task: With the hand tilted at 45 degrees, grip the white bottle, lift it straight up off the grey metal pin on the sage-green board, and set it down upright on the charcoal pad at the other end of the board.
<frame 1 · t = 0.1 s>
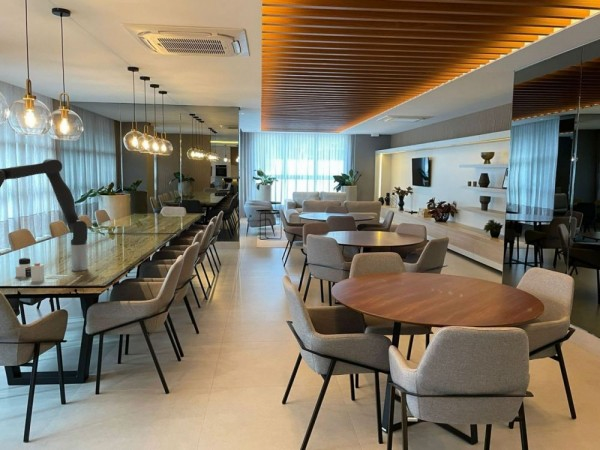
white bottle: (38, 280, 272), point 1 cm above the table, touching post board
medicine bottle: (25, 277, 283), on the table
post board: (48, 280, 278), on the table
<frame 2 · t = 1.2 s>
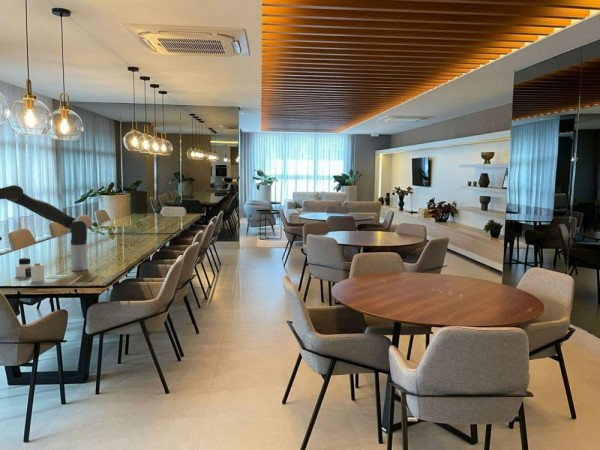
nothing on the table moved.
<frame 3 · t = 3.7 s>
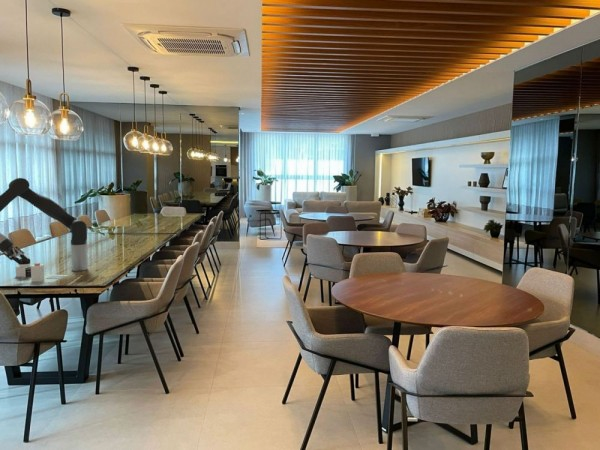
hand: (24, 261, 270), 12 cm above the table, tool tilted 45°, fingers open, 8 cm apart
nothing on the table moved.
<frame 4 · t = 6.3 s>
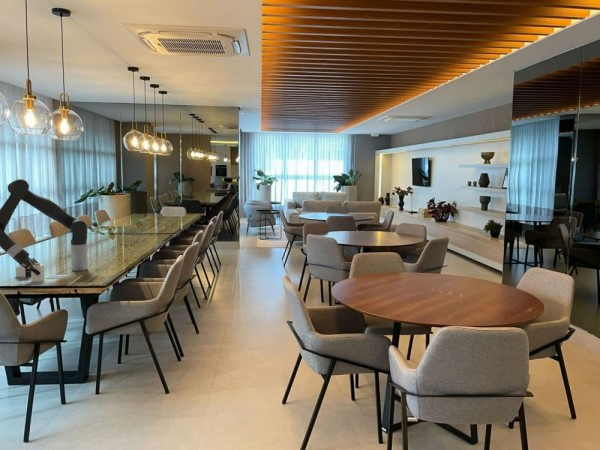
hand: (41, 273, 272), 5 cm above the table, tool tilted 45°, fingers closed on white bottle, 5 cm apart
white bottle: (38, 280, 272), point 1 cm above the table, touching gripper, post board
everything else where it was.
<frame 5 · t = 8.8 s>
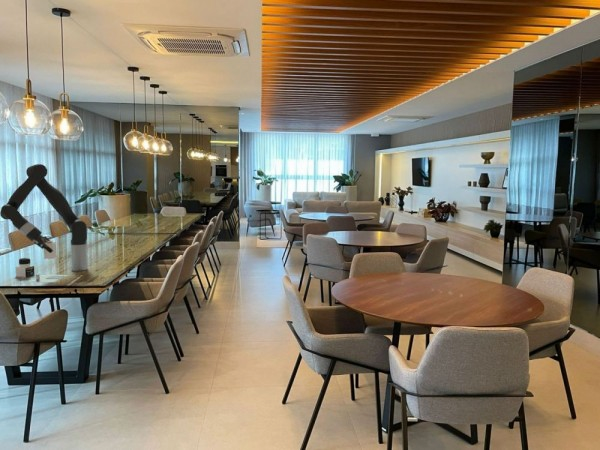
hand: (53, 250, 277), 18 cm above the table, tool tilted 45°, fingers closed on white bottle, 5 cm apart
white bottle: (50, 257, 277), point 14 cm above the table, touching gripper
everything else where it was.
when the fingers open (7 cm above the table, at t = 11.7 s): white bottle drops 1 cm, resting on post board.
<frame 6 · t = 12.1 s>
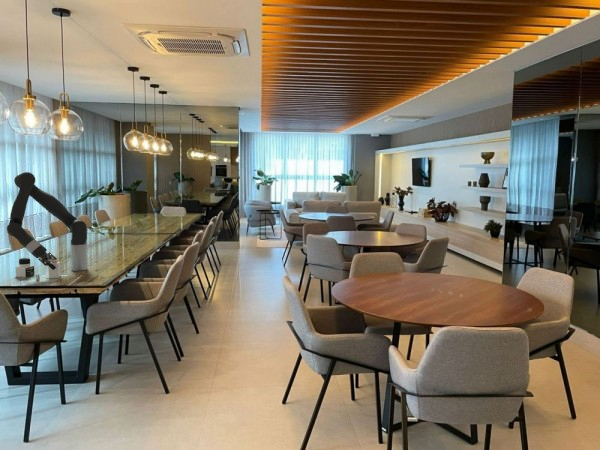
hand: (57, 267, 280), 7 cm above the table, tool tilted 45°, fingers open, 8 cm apart
white bottle: (55, 277, 280), point 1 cm above the table, touching post board
everything else where it was.
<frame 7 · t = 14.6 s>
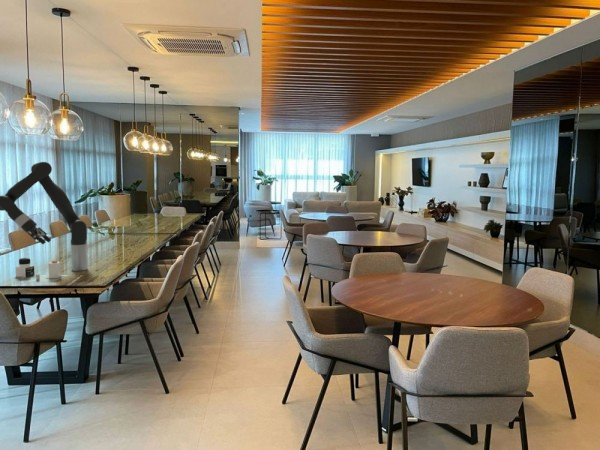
hand: (47, 242, 276), 23 cm above the table, tool tilted 45°, fingers open, 8 cm apart
nothing on the table moved.
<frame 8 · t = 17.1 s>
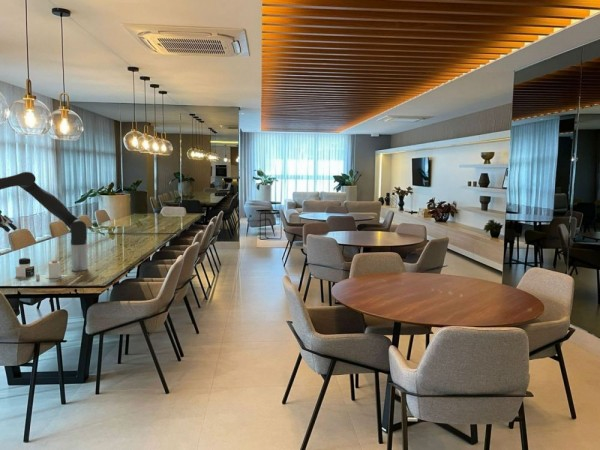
hand: (12, 230, 269), 31 cm above the table, tool tilted 45°, fingers open, 8 cm apart
nothing on the table moved.
at the end: white bottle 0.1 cm from the target spot on the post board, point 1.4 cm above the post board's base; white bottle tilted 0°; the gripper is holding nothing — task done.
